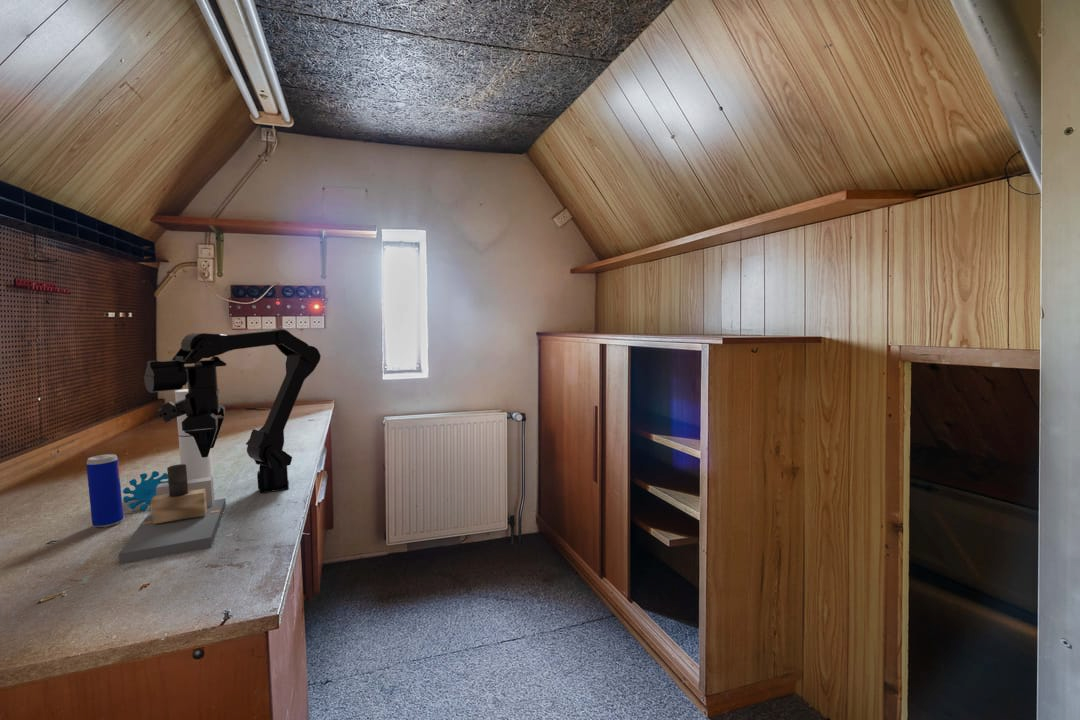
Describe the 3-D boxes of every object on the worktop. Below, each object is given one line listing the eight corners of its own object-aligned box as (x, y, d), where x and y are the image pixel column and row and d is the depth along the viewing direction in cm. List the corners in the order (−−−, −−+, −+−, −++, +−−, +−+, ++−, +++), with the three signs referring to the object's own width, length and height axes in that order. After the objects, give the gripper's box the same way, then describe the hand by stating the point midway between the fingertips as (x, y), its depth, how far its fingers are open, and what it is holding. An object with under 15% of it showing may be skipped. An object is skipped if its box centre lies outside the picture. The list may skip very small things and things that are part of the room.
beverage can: (129, 520, 109) (123, 454, 108) (102, 530, 105) (95, 460, 103) (114, 517, 111) (107, 452, 110) (86, 527, 106) (79, 459, 105)
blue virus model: (114, 508, 112) (130, 469, 119) (121, 519, 116) (136, 481, 123) (172, 507, 116) (184, 470, 123) (176, 518, 120) (188, 481, 127)
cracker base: (226, 506, 117) (223, 473, 116) (211, 547, 95) (208, 507, 95) (152, 518, 111) (149, 483, 110) (119, 564, 89) (115, 521, 89)
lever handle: (207, 510, 108) (203, 461, 107) (205, 515, 105) (201, 465, 104) (156, 518, 104) (151, 467, 103) (152, 524, 101) (148, 471, 100)
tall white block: (189, 482, 135) (181, 392, 133) (177, 478, 139) (169, 390, 137) (217, 475, 141) (210, 388, 139) (205, 471, 145) (198, 387, 143)
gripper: (169, 385, 120) (174, 448, 121) (149, 395, 103) (155, 468, 104) (223, 381, 125) (227, 442, 126) (213, 390, 108) (218, 460, 109)
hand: (207, 452), depth 116 cm, fingers open, 9 cm apart
